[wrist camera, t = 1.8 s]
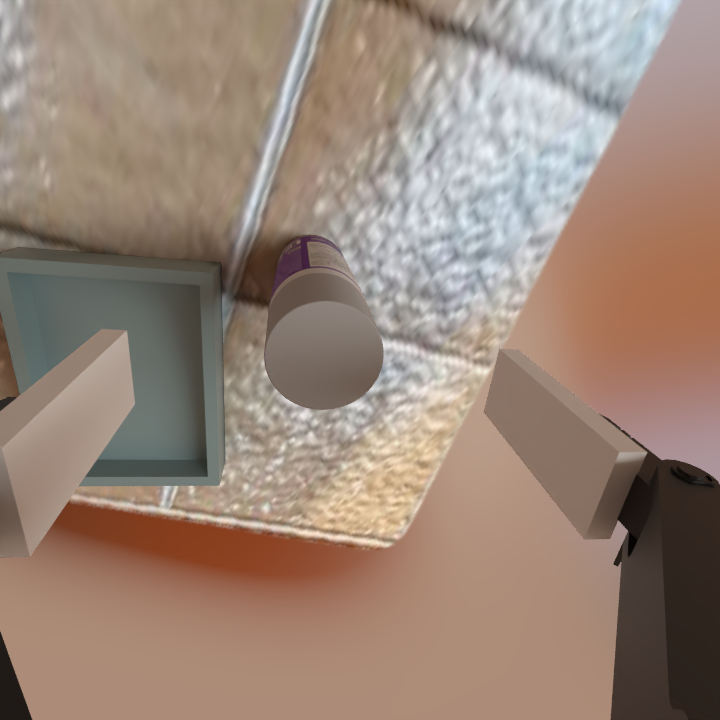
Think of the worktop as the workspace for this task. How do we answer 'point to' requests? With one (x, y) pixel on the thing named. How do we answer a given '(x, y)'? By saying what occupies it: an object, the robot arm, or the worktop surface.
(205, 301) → the tray
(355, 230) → the worktop surface
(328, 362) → the container
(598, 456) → the robot arm
